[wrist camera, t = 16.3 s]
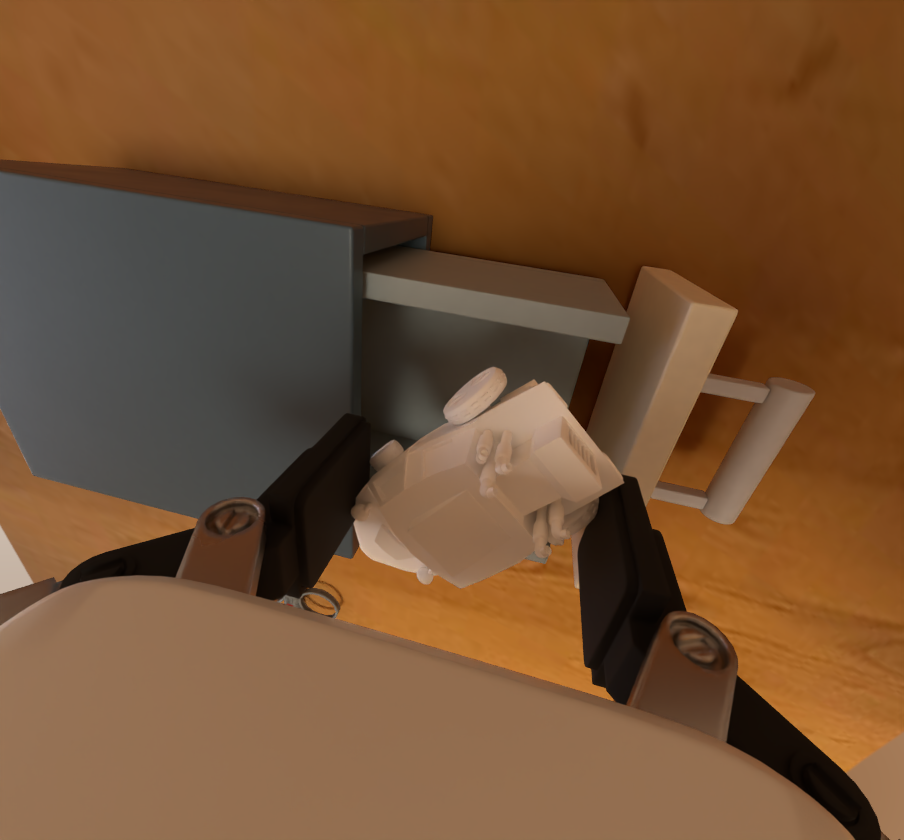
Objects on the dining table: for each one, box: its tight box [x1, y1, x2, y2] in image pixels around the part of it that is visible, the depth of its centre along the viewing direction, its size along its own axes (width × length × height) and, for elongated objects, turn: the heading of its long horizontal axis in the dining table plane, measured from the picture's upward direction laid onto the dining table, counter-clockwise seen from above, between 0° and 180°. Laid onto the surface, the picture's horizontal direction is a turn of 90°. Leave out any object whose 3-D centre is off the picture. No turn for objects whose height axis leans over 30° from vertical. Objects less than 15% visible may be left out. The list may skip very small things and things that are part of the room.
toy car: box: [351, 367, 624, 589], centre depth 11 cm, size 5×8×4 cm, turn 131°
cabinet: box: [0, 160, 433, 559], centre depth 18 cm, size 16×13×9 cm
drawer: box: [361, 245, 815, 589], centre depth 17 cm, size 19×11×7 cm, turn 83°
